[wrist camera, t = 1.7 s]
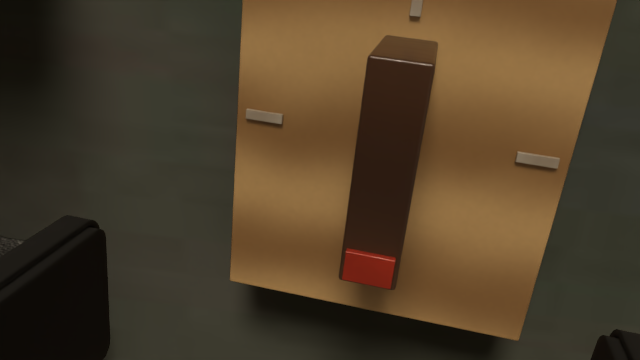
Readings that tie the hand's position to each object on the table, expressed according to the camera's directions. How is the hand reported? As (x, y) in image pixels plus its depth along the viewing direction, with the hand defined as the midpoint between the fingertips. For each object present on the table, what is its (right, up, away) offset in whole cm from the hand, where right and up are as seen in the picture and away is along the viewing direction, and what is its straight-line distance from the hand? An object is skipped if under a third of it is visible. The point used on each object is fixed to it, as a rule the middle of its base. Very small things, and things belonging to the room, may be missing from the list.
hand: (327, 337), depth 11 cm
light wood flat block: (+3, +6, +12) cm, 14 cm away
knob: (+3, +4, +10) cm, 11 cm away
